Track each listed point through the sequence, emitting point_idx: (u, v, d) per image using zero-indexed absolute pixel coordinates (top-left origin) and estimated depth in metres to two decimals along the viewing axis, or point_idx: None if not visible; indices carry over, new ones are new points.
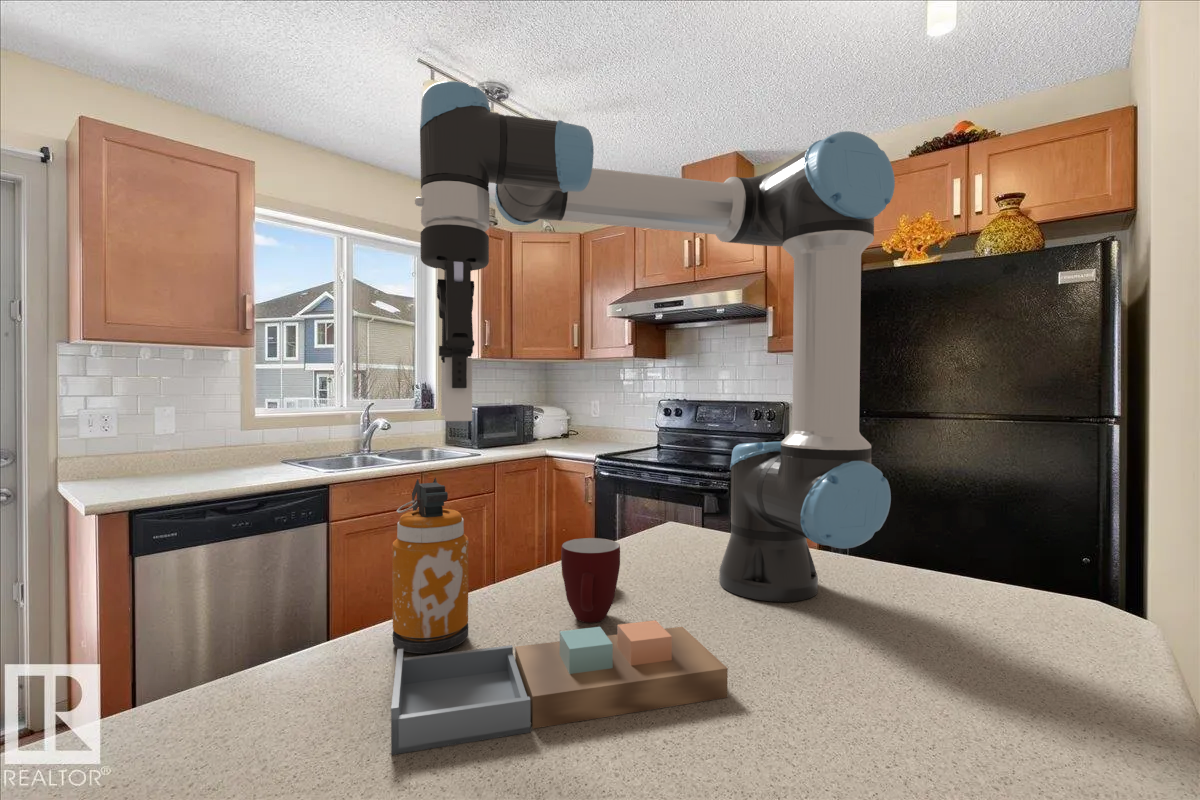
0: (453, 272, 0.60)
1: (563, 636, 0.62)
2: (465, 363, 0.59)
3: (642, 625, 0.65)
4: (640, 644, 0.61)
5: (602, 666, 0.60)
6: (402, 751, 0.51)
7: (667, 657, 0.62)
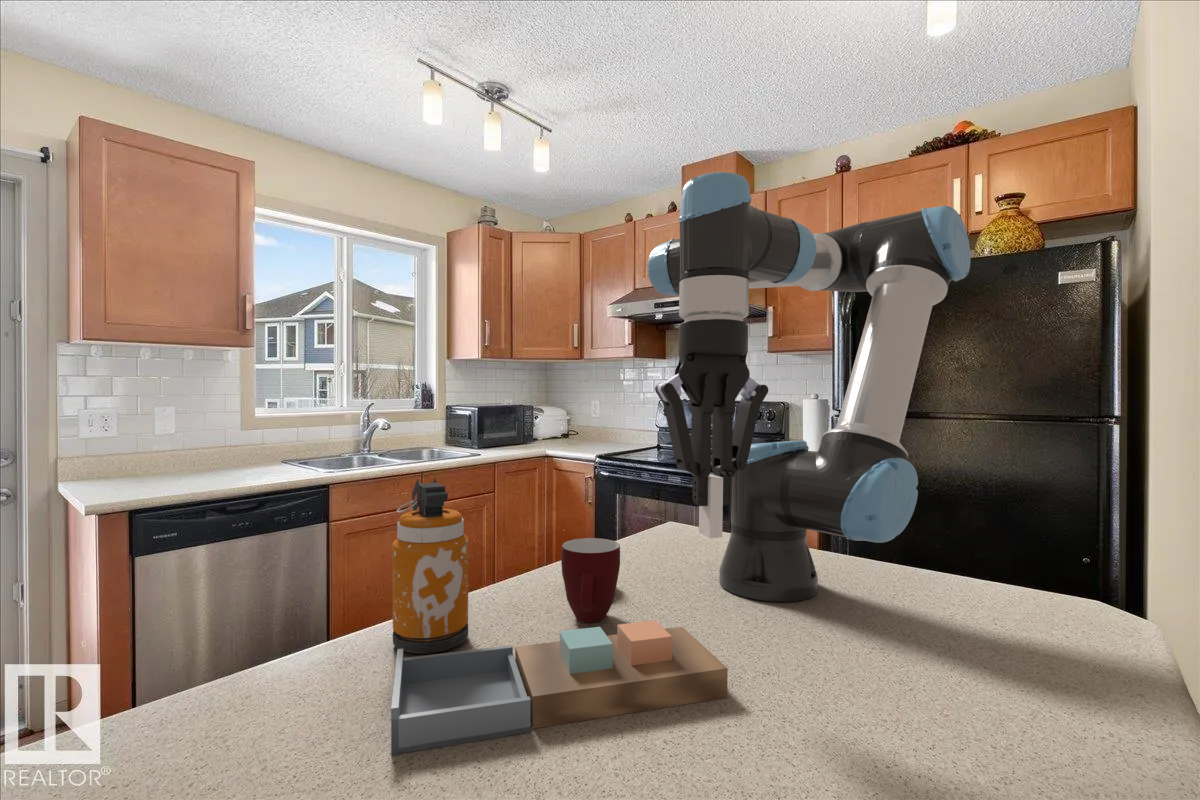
0: (661, 397, 0.64)
1: (563, 636, 0.62)
2: (697, 483, 0.64)
3: (642, 625, 0.65)
4: (640, 644, 0.61)
5: (602, 666, 0.60)
6: (402, 751, 0.51)
7: (667, 657, 0.62)
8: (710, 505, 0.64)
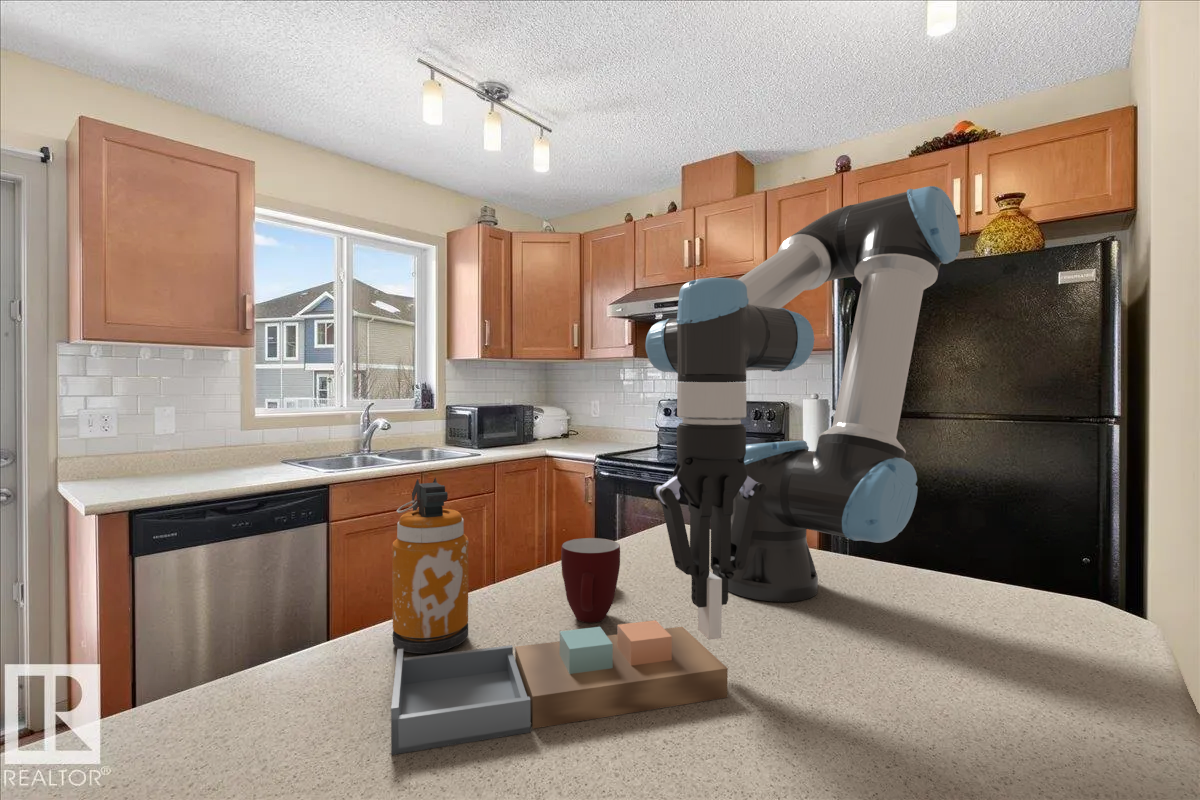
0: (660, 499, 0.64)
1: (563, 636, 0.62)
2: (696, 584, 0.64)
3: (642, 625, 0.65)
4: (640, 644, 0.61)
5: (602, 666, 0.60)
6: (402, 751, 0.51)
7: (667, 657, 0.62)
8: (709, 607, 0.64)
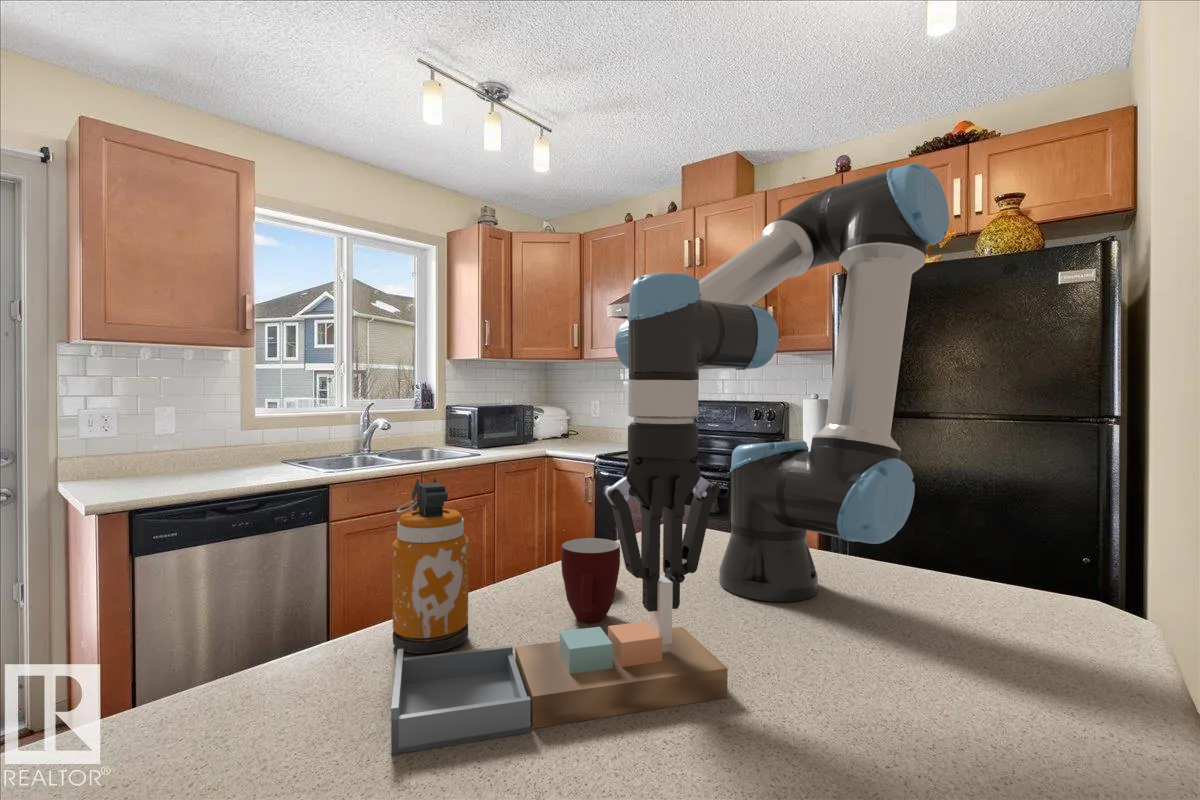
0: (609, 500, 0.62)
1: (563, 636, 0.62)
2: (647, 588, 0.63)
3: (633, 626, 0.64)
4: (630, 645, 0.61)
5: (602, 666, 0.60)
6: (402, 751, 0.51)
7: (658, 658, 0.61)
8: (659, 611, 0.62)
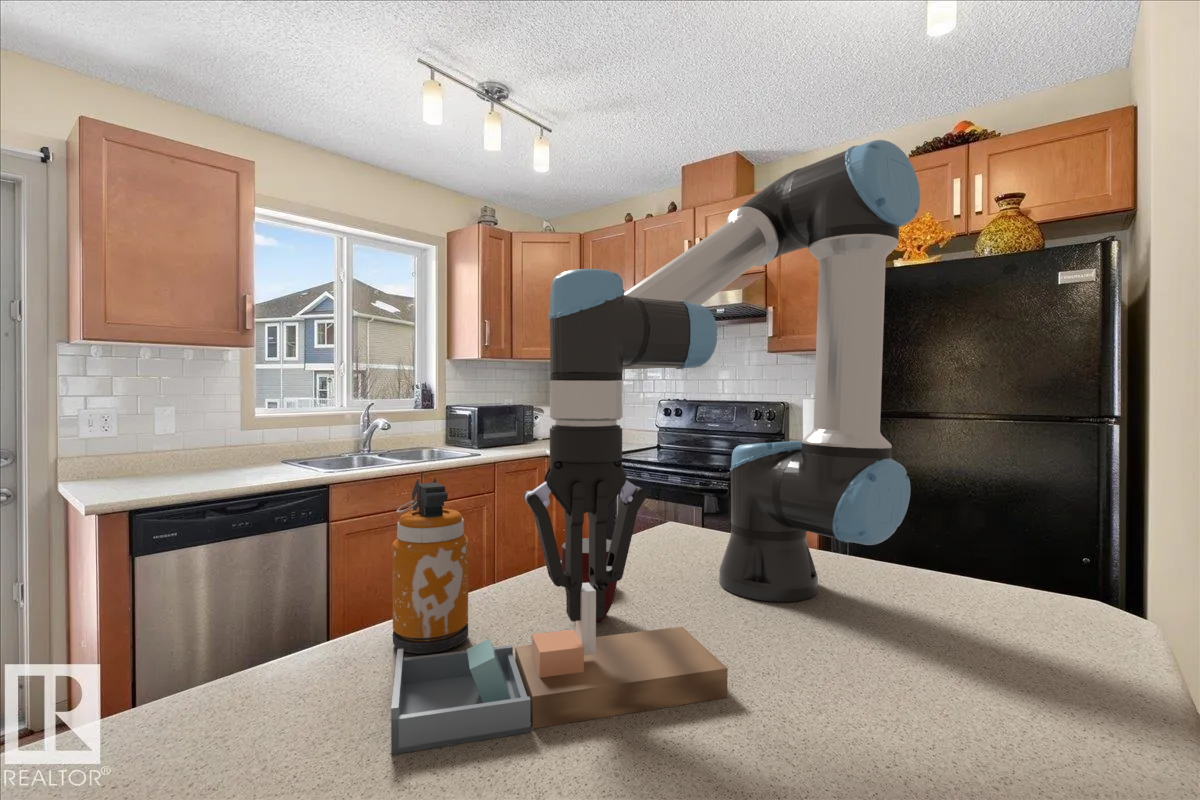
0: (529, 506, 0.60)
1: None
2: (569, 597, 0.60)
3: (557, 635, 0.62)
4: (549, 655, 0.58)
5: (495, 668, 0.57)
6: (402, 751, 0.51)
7: (579, 669, 0.59)
8: (582, 621, 0.60)
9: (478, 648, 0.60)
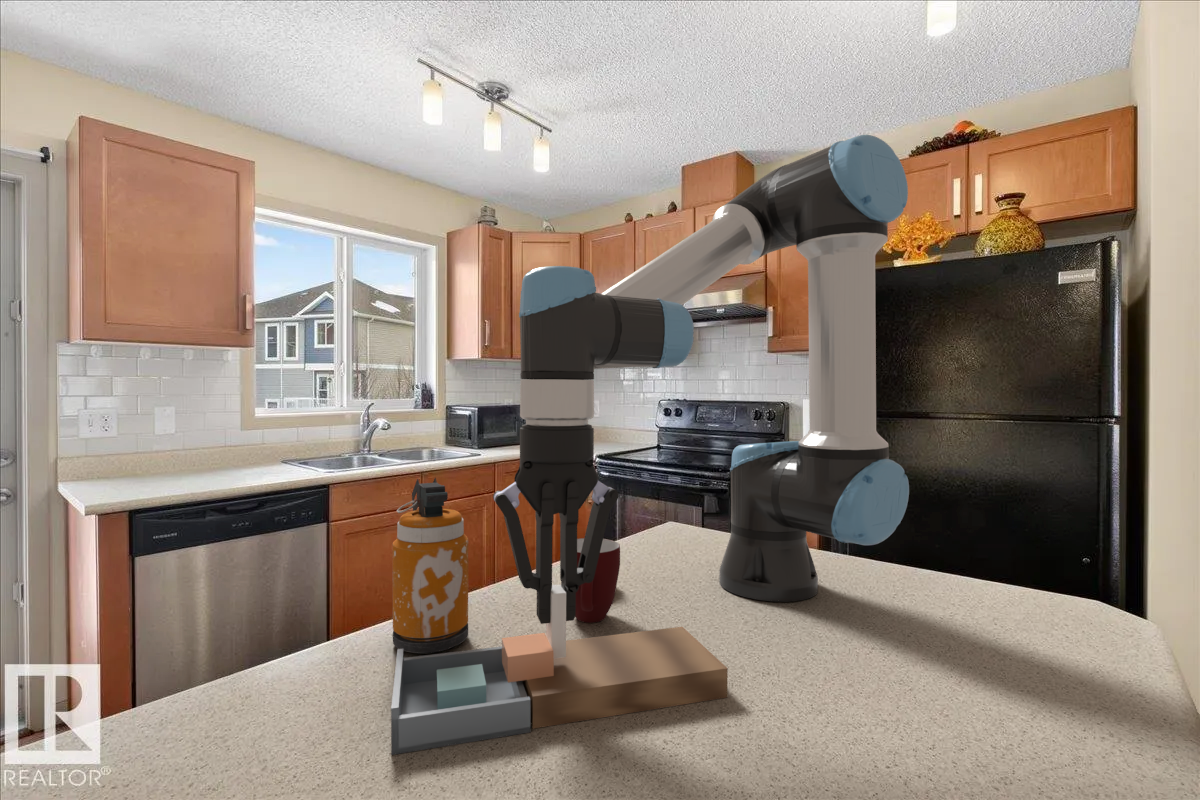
0: None
1: None
2: (539, 599, 0.59)
3: (527, 638, 0.61)
4: (517, 659, 0.57)
5: (449, 693, 0.56)
6: (402, 751, 0.51)
7: (548, 673, 0.58)
8: (552, 623, 0.59)
9: None
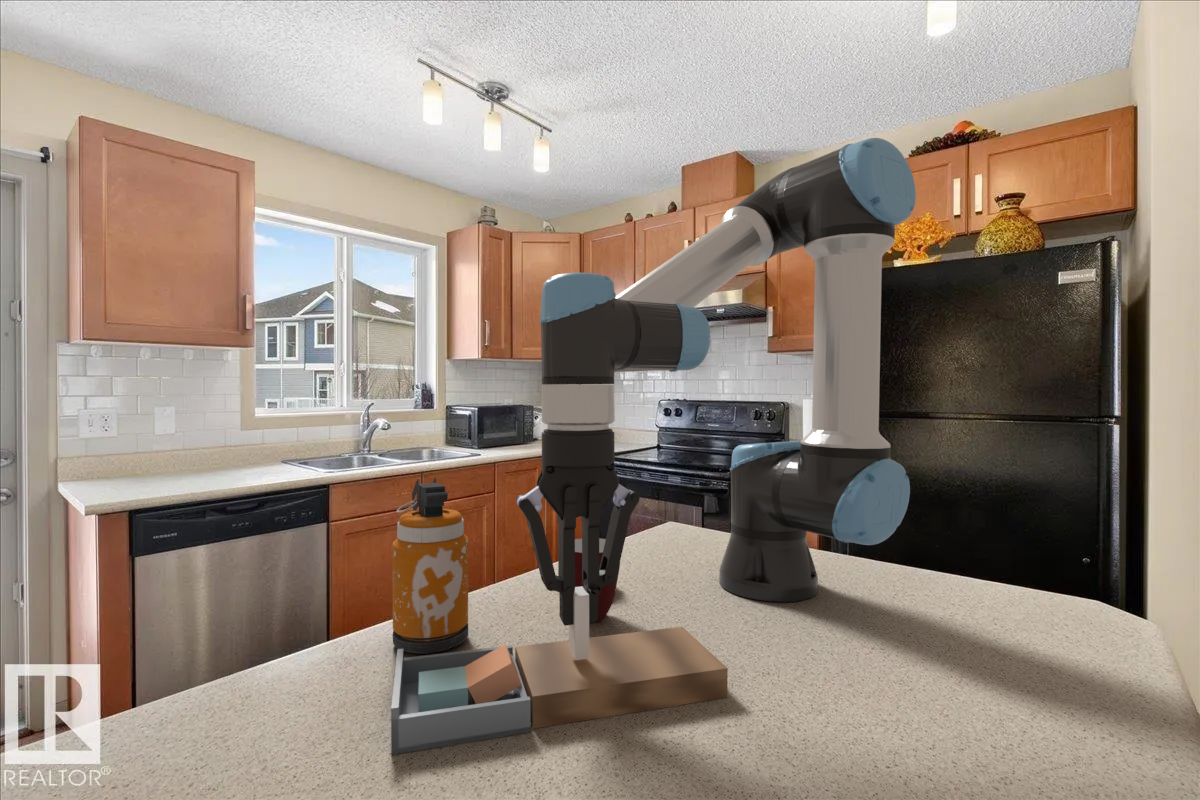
0: (521, 510, 0.60)
1: None
2: (562, 601, 0.60)
3: (489, 657, 0.60)
4: (479, 685, 0.56)
5: (430, 696, 0.55)
6: (402, 751, 0.51)
7: (516, 684, 0.57)
8: (575, 625, 0.60)
9: None
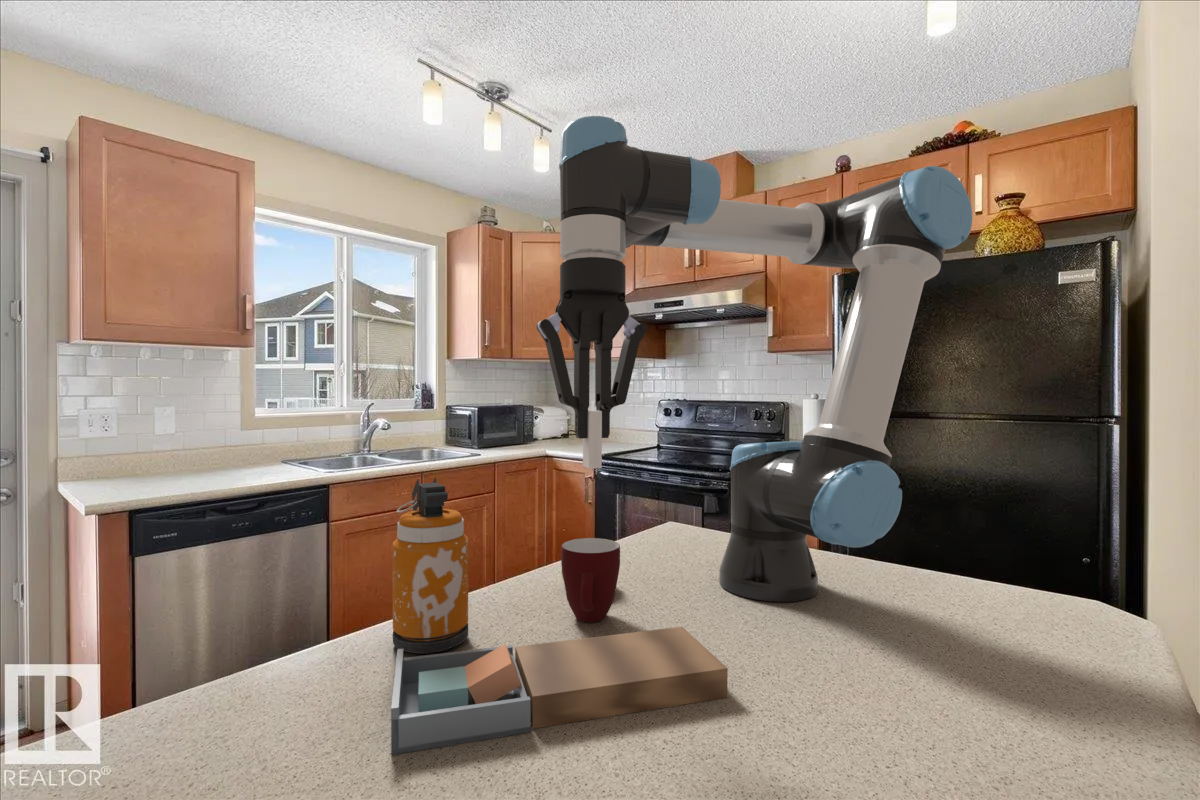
0: (541, 334, 0.67)
1: None
2: (577, 416, 0.67)
3: (489, 657, 0.60)
4: (479, 685, 0.56)
5: (430, 696, 0.55)
6: (402, 751, 0.51)
7: (516, 684, 0.57)
8: (589, 437, 0.67)
9: None
